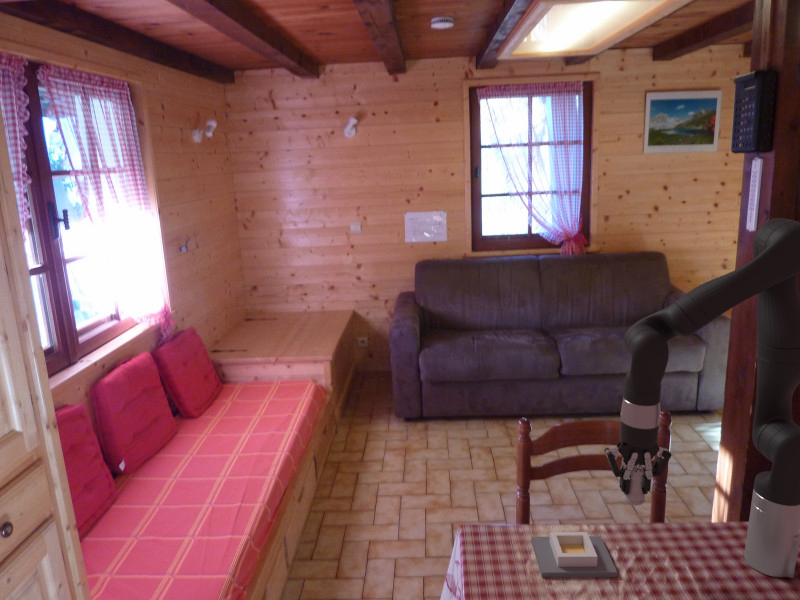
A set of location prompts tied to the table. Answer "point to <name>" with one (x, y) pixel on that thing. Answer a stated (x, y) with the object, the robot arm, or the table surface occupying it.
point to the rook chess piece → (635, 487)
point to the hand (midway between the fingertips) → (634, 491)
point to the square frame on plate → (572, 555)
